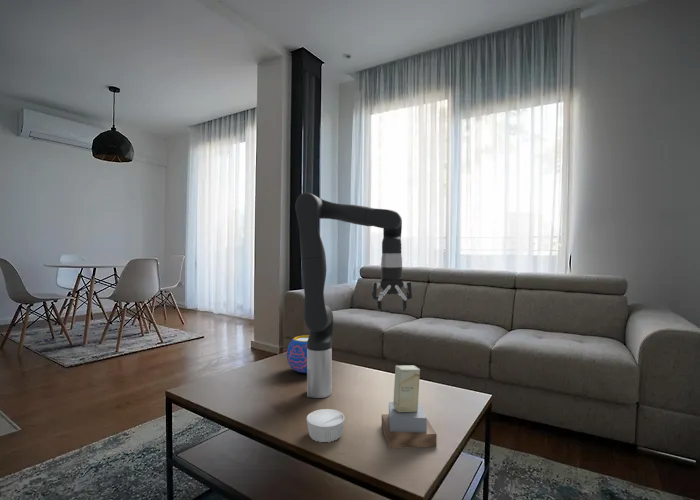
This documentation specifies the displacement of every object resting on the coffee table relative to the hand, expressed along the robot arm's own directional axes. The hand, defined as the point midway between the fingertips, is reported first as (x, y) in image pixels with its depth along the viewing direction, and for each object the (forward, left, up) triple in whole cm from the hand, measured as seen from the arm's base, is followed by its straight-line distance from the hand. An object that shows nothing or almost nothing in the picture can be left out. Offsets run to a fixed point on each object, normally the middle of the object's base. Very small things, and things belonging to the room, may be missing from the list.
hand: (391, 310), depth 131 cm
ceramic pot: (-31, +34, -32) cm, 56 cm away
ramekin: (-25, -23, -32) cm, 47 cm away
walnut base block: (-1, -26, -33) cm, 42 cm away
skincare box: (-2, -26, -25) cm, 36 cm away
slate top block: (-1, -26, -29) cm, 39 cm away
